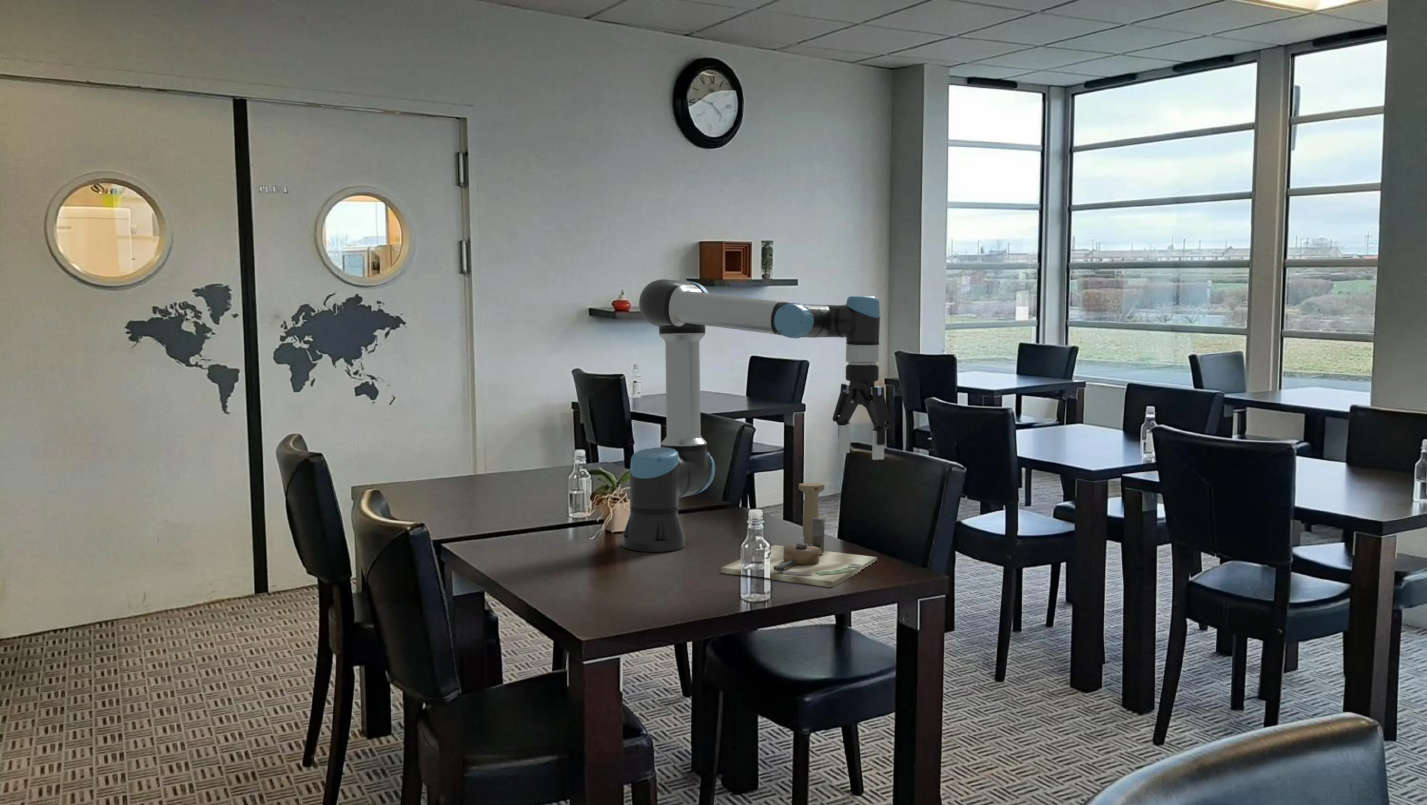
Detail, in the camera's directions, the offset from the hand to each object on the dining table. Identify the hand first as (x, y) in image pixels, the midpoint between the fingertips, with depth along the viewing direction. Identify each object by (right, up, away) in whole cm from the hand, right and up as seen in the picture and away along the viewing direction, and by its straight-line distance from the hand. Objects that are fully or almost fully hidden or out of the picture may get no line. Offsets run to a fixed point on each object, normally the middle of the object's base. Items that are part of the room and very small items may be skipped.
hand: (860, 456), depth 256 cm
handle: (-10, -23, +19) cm, 31 cm away
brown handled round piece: (-15, -23, -8) cm, 29 cm away
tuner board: (-14, -25, -7) cm, 29 cm away
